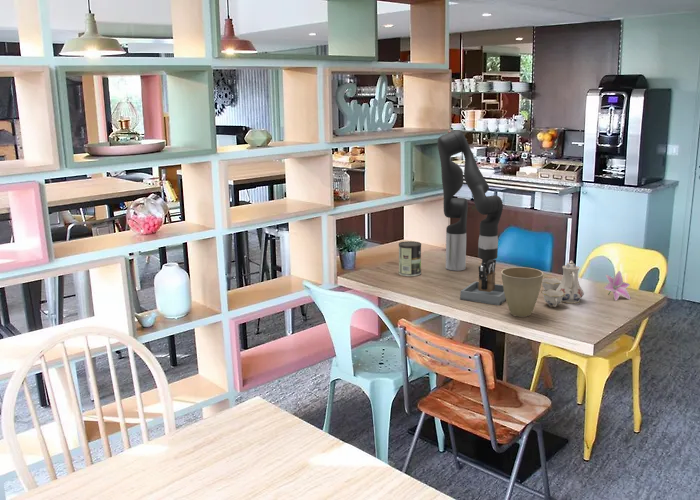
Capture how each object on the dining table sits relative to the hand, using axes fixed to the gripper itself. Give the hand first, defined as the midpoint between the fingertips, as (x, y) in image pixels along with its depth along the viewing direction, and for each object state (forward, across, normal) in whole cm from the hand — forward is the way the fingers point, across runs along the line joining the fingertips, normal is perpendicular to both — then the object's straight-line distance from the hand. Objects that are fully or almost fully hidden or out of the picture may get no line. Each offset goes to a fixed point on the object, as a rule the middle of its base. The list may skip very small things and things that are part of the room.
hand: (486, 287), depth 265 cm
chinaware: (+4, -11, +27) cm, 29 cm away
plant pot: (+4, +14, +18) cm, 23 cm away
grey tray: (+4, 0, 0) cm, 4 cm away
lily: (+4, -24, +45) cm, 51 cm away
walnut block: (+1, 0, 0) cm, 1 cm away
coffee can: (+4, -18, -43) cm, 47 cm away
